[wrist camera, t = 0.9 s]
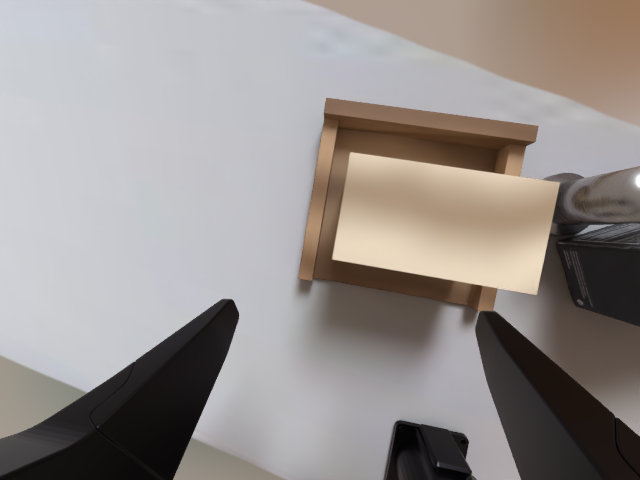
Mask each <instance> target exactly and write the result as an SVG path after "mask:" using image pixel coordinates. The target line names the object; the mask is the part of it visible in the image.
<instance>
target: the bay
mask: <svg viewBox="0 0 640 480" xmlns="http://www.w3.org/2000/svg"><path fill="white" fill-rule="evenodd" d="M538 127H539V126H535V125H527V124H520V123H512V122H505V121H497V120H490V119H482V118H474V117H467V116H459V115H452V114H444V113H437V112H429V111H422V110H414V109H407V108H399V107H392V106H384V105H377V104H369V103H362V102H354V101H346V100H339V99H331V98H326V102H325V108H324V124H323V130H322V136H321V142H320V149H319V155H318V161H317V167H316V173H315V179H314V185H313V191H312V197H311V203H310V209H309V216H308V222H307V228H306V234H305V240H304V246H303V252H302V258H301V264H300V270H299V276H298V278H299V279H305V280H310V281H312V279H313V278H319V279H325V280H330V281H336V282H341V283H347V284H352V285H358V286H363V287H369V288H375V289H380V290H386V291H391V292H397V293H402V294H408V295H413V296H419V297H425V298H430V299H436V300H441V301H447V302H452V303H458V304H463V305H468V306H470V307H472V308H473V309H475V310H477V311H482V310H487V311H493V308H494V303H495V298H496V293H497V288H493V287H488V286H482V285H476V284H470V283H465V282H459V281H453V280H447V279H442V278H436V277H430V276H425V275H419V274H413V273H407V272H402V271H396V270H390V269H384V268H379V267H373V266H367V265H362V264H356V263H350V262H344V261H339V260H333V259H332V254H333V248H334V242H335V236H336V230H337V225H338V219H339V213H340V207H341V201H342V195H343V189H344V183H345V177H346V172H347V166H348V160H349V154H350V153H351V152H353V153H360V154H367V155H374V156H381V157H387V158H394V159H401V160H408V161H415V162H422V163H429V164H435V165H442V166H449V167H456V168H463V169H470V170H476V171H483V172H490V173H497V174H504V175H511V176H518V177H520V174H521V169H522V164H523V159H524V154H525V149H526V146H527V145H530V144H532V143H534V142H535V141H536V136H537V131H538Z"/></svg>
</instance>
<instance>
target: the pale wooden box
mask: <svg viewBox="0 0 640 480" xmlns="http://www.w3.org/2000/svg"><path fill="white" fill-rule="evenodd" d="M559 185H560V183H559V182H552V181H545V180H538V179H531V178H524V177H518V176H511V175H504V174H497V173H490V172H483V171H476V170H470V169H463V168H456V167H449V166H442V165H435V164H429V163H422V162H415V161H408V160H401V159H394V158H387V157H381V156H374V155H367V154H360V153H353V152H351V153H350V154H349V160H348V166H347V172H346V177H345V183H344V189H343V195H342V201H341V207H340V213H339V219H338V225H337V230H336V236H335V242H334V248H333V254H332V259H333V260H339V261H344V262H350V263H356V264H362V265H367V266H373V267H379V268H384V269H390V270H396V271H402V272H407V273H413V274H419V275H425V276H430V277H436V278H442V279H447V280H453V281H459V282H465V283H470V284H476V285H482V286H488V287H493V288H499V289H505V290H510V291H516V292H522V293H528V294H533V295H537V291H538V286H539V281H540V277H541V272H542V267H543V262H544V257H545V252H546V248H547V243H548V238H549V233H550V228H551V224H552V219H553V214H554V209H555V204H556V200H557V195H558V190H559Z"/></svg>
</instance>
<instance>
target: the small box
mask: <svg viewBox="0 0 640 480" xmlns="http://www.w3.org/2000/svg"><path fill="white" fill-rule="evenodd" d="M557 247H558V251H559V253H560V256H561V260H562V263H563V266H564V269H565V273H566V276H567V280H568V283H569V289H570V292H571V294H572V297H573V300H574V303H575V305H576V306H577V307H580V308H584V309H587V310H590V311H593V312H596V313H599V314H602V315H606V316H609V317H612V318H615V319H618V320H621V321H624V322H627V323H631V324H634V325H637V326H640V224H615V225H612V226H607V227H604V228H601V229H598V230H595V231H591V232H588V233H584V234H581V235H577V236H574V237H571V238H567V239H564V240H560V241H558V242H557Z"/></svg>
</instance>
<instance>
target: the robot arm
mask: <svg viewBox="0 0 640 480" xmlns="http://www.w3.org/2000/svg"><path fill="white" fill-rule="evenodd" d="M238 320H239V312H238V310H237V307H236V305H235V303H234V301H233V300H232V299H222V300H220V301H219V302H217V303H216V304H214V305H213V306H212V307H210V308H209V309H207V310H206V311H205V312H203V313H202V314H200V315H199V316H198V317H196V318H195V319H193V320H192V321H191V322H189V323H188V324H186V325H185V326H184V327H182V328H181V329H179V330H178V331H177V332H175V333H174V334H172V335H171V336H170V337H168V338H167V339H165V340H164V341H162V342H161V343H160V344H158V345H157V346H155V347H154V348H153V349H151V350H150V351H148V352H147V353H146V354H144V355H143V356H141V357H140V358H139V359H137V360H136V362H133V363H131V364H130V365H129V366H127V367H126V368H124V369H123V370H122V371H120V372H119V373H117V374H116V375H114V376H113V377H111V378H110V379H109V380H107V381H106V382H104V383H102V384H101V385H99V386H98V387H96V388H95V389H93V390H92V391H90V392H89V393H87V394H86V395H84V396H82V397H81V398H79V399H78V400H76V401H75V402H73V403H71V404H70V405H69V406H67V407H65V408H63V409H62V410H60V411H59V412H57V413H56V414H54V415H53V416H51V417H50V418H48V419H46V420H44V421H43V422H41V423H39V424H37V425H35V426H34V427H32V428H29V429H27V430H25V431H22V432H20V433H17V434H14V435H11V436H8V437H5V438H1V439H0V480H173V478H174V476H175V473H176V471H177V469H178V466H179V464H180V462H181V460H182V457H183V455H184V453H185V450H186V448H187V446H188V443H189V441H190V439H191V437H192V434H193V432H194V430H195V427H196V425H197V423H198V421H199V418H200V416H201V414H202V411H203V409H204V407H205V404H206V402H207V400H208V398H209V395H210V393H211V391H212V388H213V386H214V384H215V381H216V379H217V377H218V375H219V372H220V370H221V368H222V365H223V363H224V361H225V358H226V356H227V353H228V351H229V348H230V345H231V341H232V338H233V335H234V332H235V329H236V326H237V323H238ZM475 332H476V337H477V341H478V346H479V350H480V355H481V359H482V363H483V368H484V372H485V376H486V380H487V383H488V386H489V389H490V392H491V395H492V398H493V401H494V404H495V406H496V409H497V412H498V415H499V418H500V421H501V424H502V426H503V429H504V432H505V435H506V438H507V441H508V443H509V446H510V449H511V452H512V455H513V458H514V461H515V463H516V466H517V469H518V472H519V475H520V478H521V480H640V436H638V435H637V434H636V433H635V432H634V431H633V430H631V429H630V428H629V427H628V426H627V425H626V424H624V423H623V422H622V421H621V420H620V419H619V418H615V416H614V414H613V413H612V412H611V411H609V410H608V409H607V408H606V407H605V406H604V405H603V404H601V403H600V402H599V401H598V400H597V399H596V398H595V397H593V396H592V395H591V394H590V393H589V392H588V391H586V390H585V389H584V388H583V387H582V386H581V385H580V384H578V383H577V382H576V381H575V380H574V379H573V378H572V377H570V376H569V375H568V374H567V373H566V372H565V371H564V370H562V369H561V368H560V367H559V366H558V365H557V364H556V363H554V362H553V361H552V360H551V359H550V358H549V357H547V356H546V355H545V354H544V353H543V352H542V351H541V350H539V349H538V348H537V347H536V346H535V345H534V344H533V343H531V342H530V341H529V340H528V339H527V338H526V337H525V336H523V335H522V334H521V333H520V332H519V331H518V330H517V329H515V328H514V327H513V326H512V325H511V324H510V323H508V322H507V321H506V320H505V319H504V318H503V317H502V316H500V315H499V314H498V313H497V312H495V311H487V310H482V311H480V313H479V316H478V320H477V323H476V327H475ZM400 426H403V428H399V427H400ZM462 439H464V440H463V441H461V440H462ZM468 444H469V441H468V439H467V437H466V436H465V435H464V434H462V433H458V432H453V431H449V430H447V429H442V428H438V427H433V426H428V425H423V424H421V425H420V424H416V423H411V422H406V421H401V420H399V421H397V422H396V424H395V428H394V433H393V439H392V444H391V450H390V455H389V460H388V466H387V471H386V476H385V480H477V479H476V478H475V477H474V476H472V475H471V474H472V471H471V469H470V467H469V465H468V464H467V462H466V460H465V459H466V454H467V449H468Z"/></svg>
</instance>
